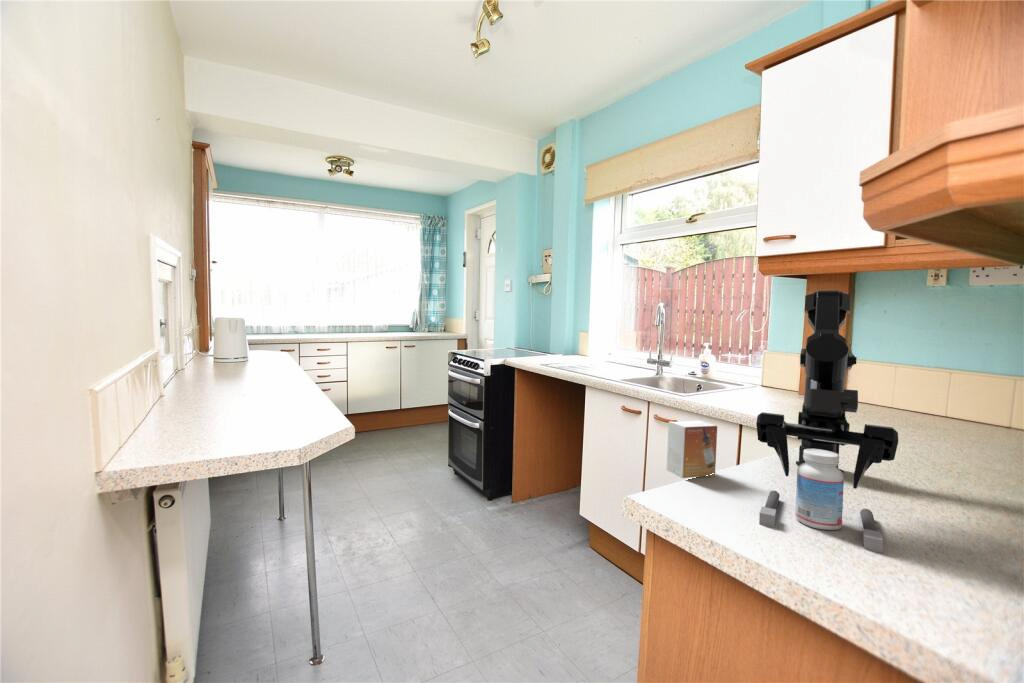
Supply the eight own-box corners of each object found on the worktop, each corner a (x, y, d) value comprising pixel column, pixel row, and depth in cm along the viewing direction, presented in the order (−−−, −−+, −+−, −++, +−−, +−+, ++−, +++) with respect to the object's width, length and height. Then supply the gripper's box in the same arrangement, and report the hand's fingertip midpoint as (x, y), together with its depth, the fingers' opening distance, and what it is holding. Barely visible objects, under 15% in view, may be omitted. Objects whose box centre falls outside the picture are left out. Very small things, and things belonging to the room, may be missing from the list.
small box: (682, 479, 90) (684, 427, 90) (665, 470, 96) (667, 420, 95) (716, 476, 92) (718, 425, 92) (698, 467, 98) (699, 419, 97)
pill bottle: (849, 533, 68) (853, 459, 67) (804, 529, 69) (808, 456, 69) (830, 517, 74) (833, 448, 73) (788, 513, 75) (792, 445, 75)
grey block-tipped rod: (767, 498, 81) (768, 488, 81) (780, 500, 80) (781, 490, 80) (759, 524, 71) (759, 512, 71) (774, 527, 69) (774, 515, 69)
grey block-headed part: (858, 517, 74) (858, 506, 74) (874, 520, 73) (874, 509, 73) (864, 549, 63) (864, 536, 63) (882, 553, 62) (883, 540, 62)
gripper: (760, 366, 79) (748, 441, 70) (900, 375, 68) (907, 465, 60) (763, 404, 86) (753, 478, 77) (891, 418, 75) (895, 505, 67)
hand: (819, 480), depth 70 cm, fingers open, 8 cm apart
